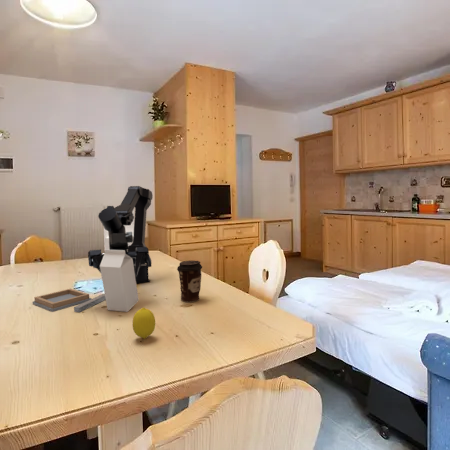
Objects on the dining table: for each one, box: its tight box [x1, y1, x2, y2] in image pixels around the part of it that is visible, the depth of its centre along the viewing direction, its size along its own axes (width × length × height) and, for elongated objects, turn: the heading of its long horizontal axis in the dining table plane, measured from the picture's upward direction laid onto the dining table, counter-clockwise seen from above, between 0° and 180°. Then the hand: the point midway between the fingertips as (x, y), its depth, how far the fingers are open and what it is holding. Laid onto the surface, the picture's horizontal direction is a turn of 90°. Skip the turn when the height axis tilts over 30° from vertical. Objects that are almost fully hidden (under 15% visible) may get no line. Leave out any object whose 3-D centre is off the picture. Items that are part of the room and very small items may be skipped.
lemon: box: [132, 307, 156, 340], centre depth 84 cm, size 6×6×8 cm
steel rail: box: [73, 293, 106, 313], centre depth 112 cm, size 14×2×2 cm, turn 164°
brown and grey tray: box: [31, 288, 93, 313], centre depth 115 cm, size 14×14×2 cm
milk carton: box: [100, 249, 139, 313], centre depth 106 cm, size 7×7×19 cm
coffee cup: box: [176, 260, 203, 303], centre depth 115 cm, size 9×8×13 cm
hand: (120, 277), depth 106 cm, fingers open, 9 cm apart
